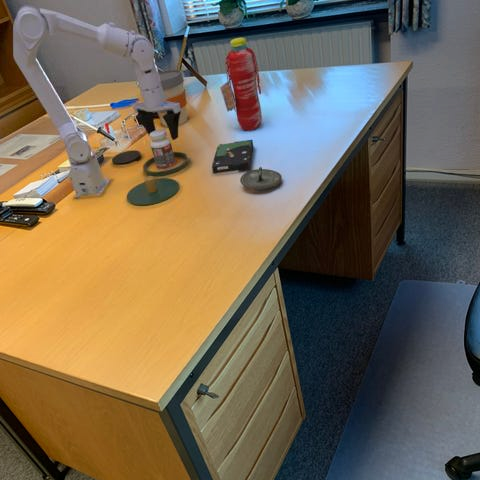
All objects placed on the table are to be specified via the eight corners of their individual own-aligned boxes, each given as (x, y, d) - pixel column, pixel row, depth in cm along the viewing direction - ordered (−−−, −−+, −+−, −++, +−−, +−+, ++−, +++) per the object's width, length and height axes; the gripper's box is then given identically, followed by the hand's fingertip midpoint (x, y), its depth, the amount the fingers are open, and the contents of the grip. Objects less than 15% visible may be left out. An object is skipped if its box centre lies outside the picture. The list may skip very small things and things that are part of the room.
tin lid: (173, 205, 122) (169, 188, 119) (121, 210, 124) (115, 194, 121) (184, 179, 132) (180, 163, 129) (135, 184, 135) (130, 169, 132)
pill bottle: (173, 170, 137) (163, 136, 131) (154, 172, 138) (144, 137, 132) (178, 161, 141) (170, 127, 135) (160, 163, 143) (151, 129, 136)
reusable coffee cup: (197, 121, 166) (186, 74, 156) (162, 131, 163) (149, 84, 153) (186, 111, 175) (175, 67, 165) (153, 122, 172) (140, 77, 163)
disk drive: (251, 171, 129) (253, 148, 140) (249, 161, 127) (252, 138, 138) (213, 176, 131) (218, 152, 142) (211, 166, 129) (217, 143, 140)
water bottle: (227, 136, 150) (210, 47, 134) (227, 126, 156) (212, 40, 140) (265, 129, 149) (253, 38, 133) (264, 120, 155) (253, 32, 139)
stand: (137, 165, 145) (135, 161, 145) (109, 168, 147) (108, 164, 146) (144, 152, 152) (143, 148, 151) (118, 155, 154) (116, 152, 153)
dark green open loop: (184, 175, 134) (183, 169, 133) (139, 180, 136) (137, 174, 135) (193, 155, 144) (191, 149, 142) (151, 160, 146) (149, 154, 145)
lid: (239, 187, 126) (231, 171, 123) (271, 167, 126) (265, 151, 123) (255, 205, 119) (247, 189, 115) (289, 183, 119) (283, 166, 115)
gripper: (181, 81, 127) (193, 132, 136) (138, 82, 133) (152, 131, 142) (166, 90, 122) (179, 143, 131) (122, 91, 129) (138, 141, 138)
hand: (164, 137), depth 136 cm, fingers open, 7 cm apart
